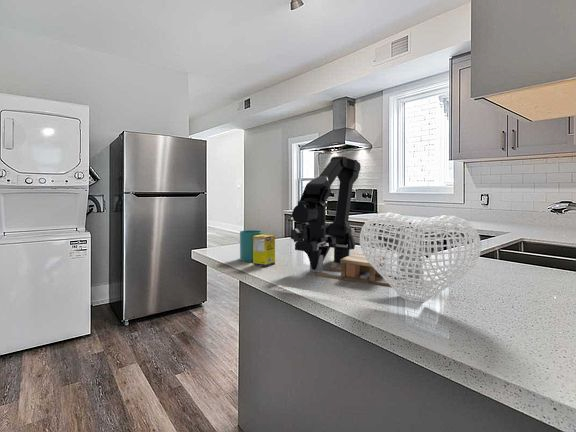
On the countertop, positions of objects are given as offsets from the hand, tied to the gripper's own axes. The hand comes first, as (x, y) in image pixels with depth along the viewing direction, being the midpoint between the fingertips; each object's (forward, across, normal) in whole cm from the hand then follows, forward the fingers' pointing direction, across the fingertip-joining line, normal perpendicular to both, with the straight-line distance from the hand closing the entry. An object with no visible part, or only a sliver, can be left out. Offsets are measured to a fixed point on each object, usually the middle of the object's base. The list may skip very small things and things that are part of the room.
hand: (316, 268), depth 113 cm
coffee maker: (+2, -13, +28) cm, 31 cm away
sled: (+2, 0, +8) cm, 8 cm away
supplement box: (+2, -3, -23) cm, 24 cm away
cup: (+2, -9, -32) cm, 34 cm away
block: (+1, 0, +12) cm, 12 cm away
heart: (+2, +13, +33) cm, 36 cm away
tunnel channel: (+2, 0, +16) cm, 16 cm away
